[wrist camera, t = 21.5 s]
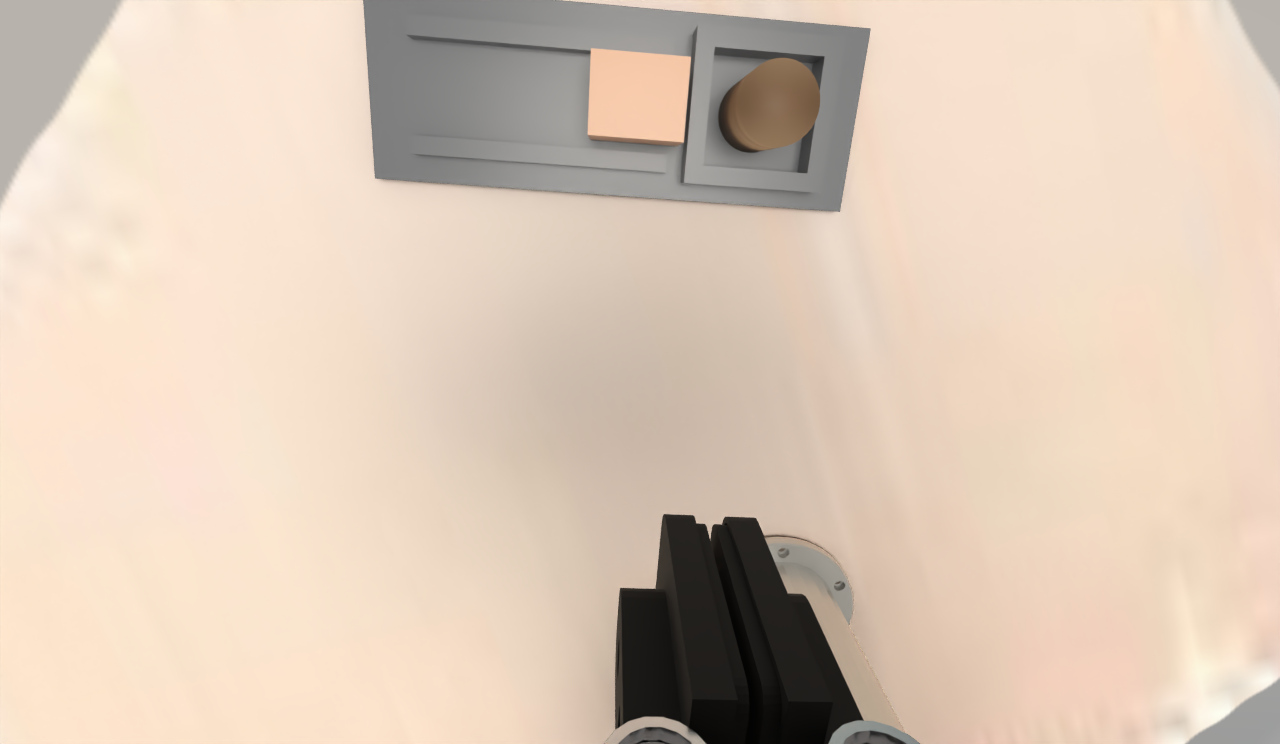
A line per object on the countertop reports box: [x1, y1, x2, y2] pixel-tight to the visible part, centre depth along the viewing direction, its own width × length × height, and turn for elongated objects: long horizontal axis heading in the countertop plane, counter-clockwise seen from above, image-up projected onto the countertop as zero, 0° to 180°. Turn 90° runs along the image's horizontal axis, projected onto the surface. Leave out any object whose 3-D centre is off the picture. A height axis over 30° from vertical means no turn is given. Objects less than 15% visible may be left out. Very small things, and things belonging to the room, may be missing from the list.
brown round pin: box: [718, 58, 820, 153], centre depth 31 cm, size 4×4×6 cm
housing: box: [363, 0, 870, 212], centre depth 33 cm, size 10×28×3 cm, turn 86°
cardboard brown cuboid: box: [588, 48, 691, 146], centre depth 32 cm, size 4×5×4 cm
